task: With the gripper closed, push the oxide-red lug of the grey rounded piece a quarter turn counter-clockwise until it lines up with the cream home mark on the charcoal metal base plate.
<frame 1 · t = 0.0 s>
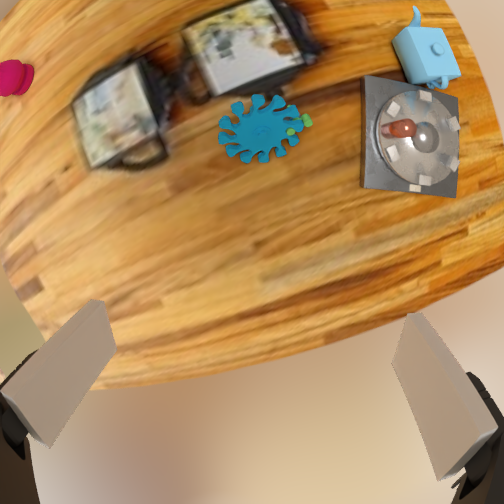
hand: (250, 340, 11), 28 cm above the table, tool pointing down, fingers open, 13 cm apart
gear: (266, 132, 35), on the table
teapot: (412, 58, 28), on the table, touching base plate
pepper mill: (24, 79, 32), on the table
base plate: (410, 138, 32), on the table
grey rounded piece: (431, 137, 27), point 6 cm above the table, hinge at 0.0°
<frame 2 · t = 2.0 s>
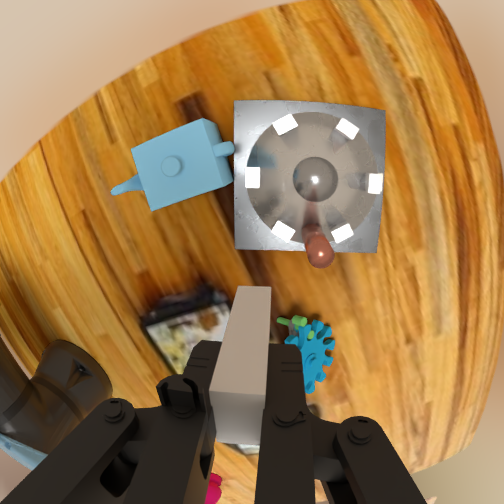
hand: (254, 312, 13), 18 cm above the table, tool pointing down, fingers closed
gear: (303, 337, 35), on the table
teapot: (188, 165, 29), on the table, touching base plate
pepper mill: (208, 476, 51), on the table
base plate: (309, 175, 28), on the table
grey rounded piece: (318, 180, 23), point 6 cm above the table, hinge at 0.0°
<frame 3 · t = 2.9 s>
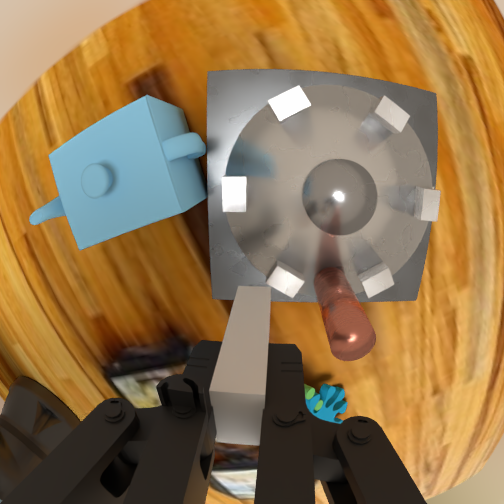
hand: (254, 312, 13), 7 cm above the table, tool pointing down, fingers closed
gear: (308, 398, 25), on the table
teapot: (144, 173, 19), on the table, touching base plate
base plate: (325, 187, 18), on the table
grey rounded piece: (347, 201, 13), point 6 cm above the table, hinge at 0.0°
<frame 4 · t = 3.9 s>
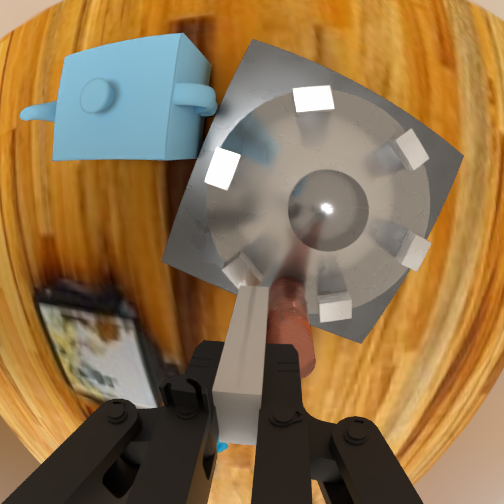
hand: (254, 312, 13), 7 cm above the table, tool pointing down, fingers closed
teapot: (148, 112, 17), on the table, touching base plate
base plate: (316, 197, 18), on the table
grey rounded piece: (334, 217, 12), point 6 cm above the table, hinge at 2.5°, touching gripper
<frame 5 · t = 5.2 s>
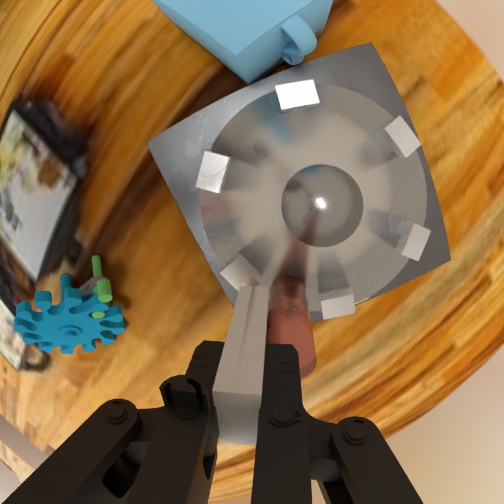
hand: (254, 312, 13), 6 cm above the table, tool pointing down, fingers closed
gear: (95, 300, 22), on the table
teapot: (240, 24, 14), on the table, touching base plate
base plate: (312, 193, 18), on the table
grey rounded piece: (327, 211, 12), point 6 cm above the table, hinge at 47.6°, touching gripper
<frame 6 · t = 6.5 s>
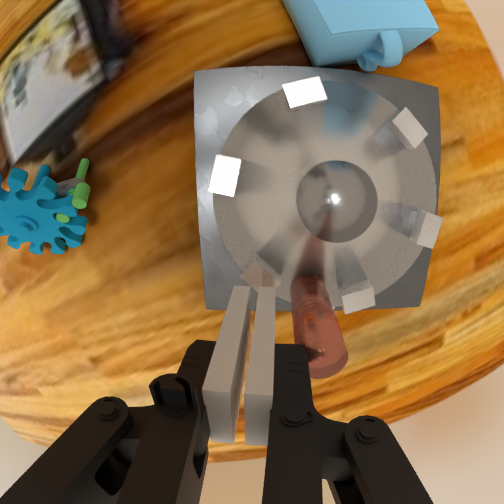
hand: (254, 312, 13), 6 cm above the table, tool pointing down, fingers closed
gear: (63, 204, 19), on the table
teapot: (330, 14, 13), on the table, touching base plate
base plate: (322, 190, 18), on the table
grey rounded piece: (345, 207, 12), point 6 cm above the table, hinge at 76.8°, touching gripper
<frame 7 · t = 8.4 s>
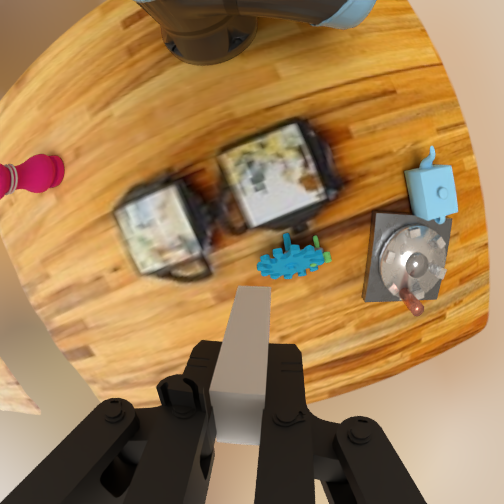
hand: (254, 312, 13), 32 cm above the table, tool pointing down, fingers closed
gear: (293, 254, 46), on the table
teapot: (419, 182, 40), on the table, touching base plate
pepper mill: (54, 171, 44), on the table
base plate: (406, 256, 44), on the table
grey rounded piece: (421, 269, 38), point 6 cm above the table, hinge at 76.3°
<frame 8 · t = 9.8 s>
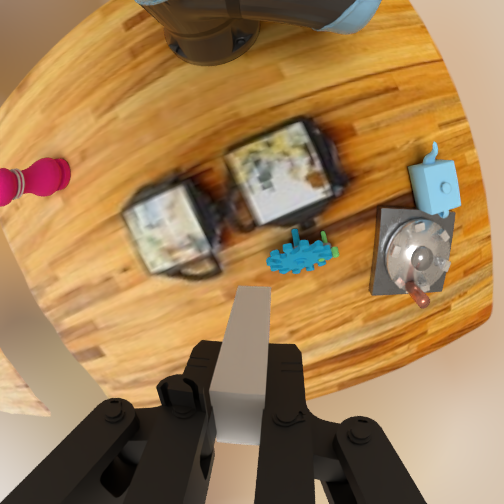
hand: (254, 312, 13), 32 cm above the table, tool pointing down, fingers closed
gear: (301, 249, 46), on the table
teapot: (422, 177, 40), on the table, touching base plate
pepper mill: (60, 174, 45), on the table
base plate: (411, 249, 44), on the table
grey rounded piece: (426, 262, 39), point 6 cm above the table, hinge at 76.3°
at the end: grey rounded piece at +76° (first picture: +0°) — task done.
